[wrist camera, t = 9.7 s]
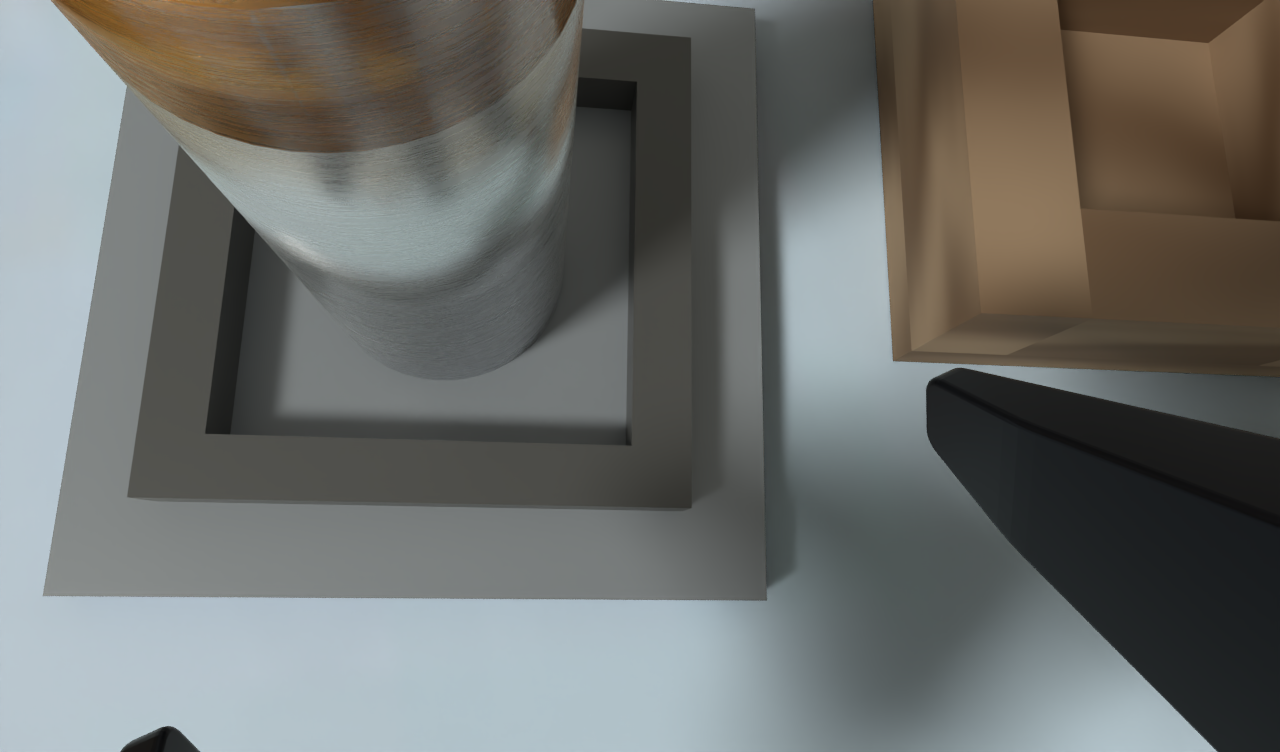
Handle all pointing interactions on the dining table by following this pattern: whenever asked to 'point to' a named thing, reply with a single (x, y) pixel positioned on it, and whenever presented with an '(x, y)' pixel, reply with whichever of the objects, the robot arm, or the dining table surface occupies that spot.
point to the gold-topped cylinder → (378, 152)
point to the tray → (443, 409)
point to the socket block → (1082, 182)
